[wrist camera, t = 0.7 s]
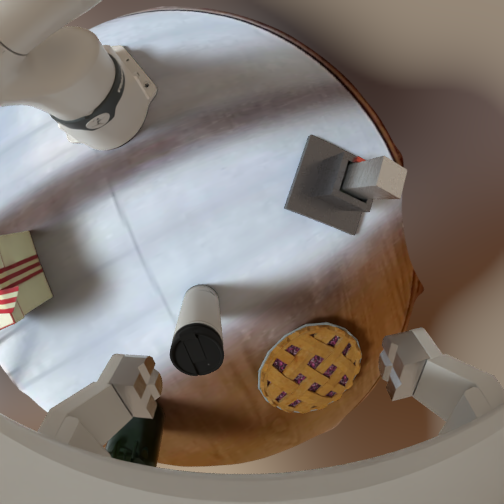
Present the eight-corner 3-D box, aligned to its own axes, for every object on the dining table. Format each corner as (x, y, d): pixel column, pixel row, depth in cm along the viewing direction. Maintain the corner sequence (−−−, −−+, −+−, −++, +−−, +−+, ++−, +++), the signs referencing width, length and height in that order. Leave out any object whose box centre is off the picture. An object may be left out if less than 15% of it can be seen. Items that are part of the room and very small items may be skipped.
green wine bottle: (111, 403, 49) (69, 519, 17) (141, 385, 49) (104, 517, 17) (144, 431, 51) (123, 547, 19) (175, 415, 52) (165, 544, 19)
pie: (314, 413, 57) (321, 426, 52) (235, 384, 52) (237, 398, 47) (371, 341, 56) (383, 351, 51) (297, 297, 51) (306, 306, 46)
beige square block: (320, 191, 47) (375, 185, 30) (328, 169, 46) (383, 154, 29) (341, 200, 48) (400, 199, 31) (347, 178, 47) (408, 169, 30)
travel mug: (212, 278, 48) (213, 325, 29) (223, 312, 49) (231, 374, 30) (178, 287, 47) (159, 339, 28) (190, 321, 49) (180, 386, 29)
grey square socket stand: (283, 208, 48) (303, 208, 37) (308, 136, 46) (332, 120, 36) (350, 234, 51) (382, 241, 40) (371, 167, 49) (404, 160, 39)
